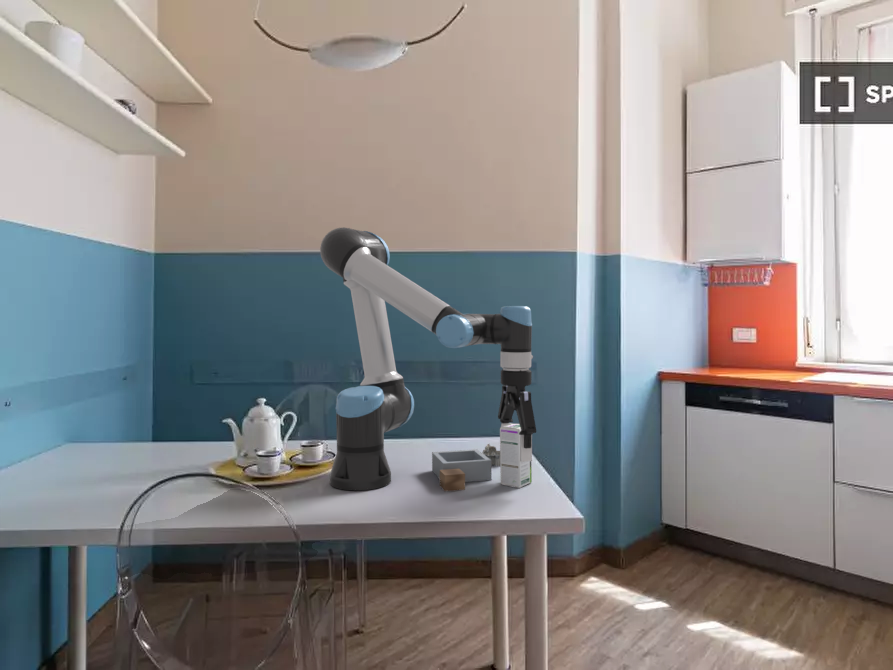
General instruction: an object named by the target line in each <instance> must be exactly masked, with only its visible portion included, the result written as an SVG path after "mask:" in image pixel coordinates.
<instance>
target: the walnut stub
mask: <svg viewBox="0 0 893 670" xmlns="http://www.w3.org/2000/svg"><path fill="white" fill-rule="evenodd" d="M439 487H441V489H442V490H443V491H444V492H452V491H462V490H463V491H465V490H466V482H465V473H464V472H463V471H461V470H460V469H445V470H440V479H439Z"/></svg>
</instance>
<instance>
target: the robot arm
mask: <svg viewBox="0 0 893 670" xmlns="http://www.w3.org/2000/svg"><path fill="white" fill-rule="evenodd" d="M319 250H320V251H319V253H320V257H321V260H322V262H323V264H324V265H325V266H326V267H327V269H329V271H332V272H333V273H334V274H336V275H337V276H340V277H341V278H342V280H343V285H344V286H345V287H347V288H348V289H349V290H350V293H351V300H352V305H353V306H352V307H353V312H354V318H355V326H356V332H357V337H358V343H359V349H360V350H359V351H360V355H361V361H362V362H361V363H362V368H363V373H364V374H363V375H364V378H363V379H362V381H361V382H360V384H359V385H358V386H355V387H354V386H352V387H348V388H345V389H343V390H341V391H340V392H339V393H338V394H337V396H336V402H335V412H336V413H335V415H336V420H335V421H336V454H335V458H334V460H333V464H332V467H331V470H330V474H329V485H330V486H332V487H333V488H335V489H339V490H344V491H369V490H374V489H380V488H383V487H386V486H389V484H391V482H392V472H391V467H390V466H389V462H388V460H387V459H388V458H387V456H386V453H385V441H384V440H385V435H384V434H385V433H387V432H390V431H392V430H397V429H398V428H401V427H402V426H403V425H405V424H406V423H407V422H408V421H409V420H410V419H411V418H412V416H413V414H414V409H415V399H414V396H413V394H412V392H411V391H410V390H409V389H408V388H407V387H406V386H405V381H404V377H403V376H402V375H401V374H400V373H398V371H397V368H396V361H395V355H394V349H393V344H392V338H391V337H392V336H391V331H390V325H389V324H390V323H389V319H388V313H387V306H386V303H387V304H389V305H390V306H392V307H394V308H395V309H396V310H398V311H399V312H401V313H402V314H404V315H405V316H407V317H409V318H410V319H412V320H413V321H415V322H416V323H417V324H419V325H421V326H422V327H424V328H426V329H427V330H428V331H429V332H431V333H432V334H434V335H436V338H437V339H438V341H439V343H440V344H441V345H442V346H444V347H446V348H450V349H451V348H452V349H459V348H464V347H468V346H474V345H475V346H476V345H500V365H499V366H500V368H502V369H501V370H500V384H501V385H502V386H501V397H500V403H499V408H498V414H497V419H498V420H499V421H500V423H501V424H500V427H504V426H507V425H511V424H513V422H514V420H513V416H514V413H515V412H516V415H517V419H518V424H520V428H521V431H520V433H519V435H520V461H521V462H527V461H531V462H532V461H533V434H535V433H537V426H536V421H535V415H534V409H533V408H534V407H533V404H532V392H531V391H526V387H527V386H530V385H532V372H533V371H531V367H532V359H533V358H534V355H532V336H533V335H532V333H533V332H532V331H533V330H532V329H533V323H532V310H531V308H530V307H529V306H527V305H525V306H524V305H511V306H510V305H507V306H506V305H505V306H502V307H500V312H499V313H495V314H494V313H492V314H491V313H462V312H460V311H459V310H457V309H456V308H454V307H452V306H451V305H450V304H448V303H447V302H445V301H443V300H441V299H440V298H439V297H437V296H435V294H433V293H431V292H430V291H428V290H426V289H425V288H423V287H421V286H420V285H419V284H417V283H416V282H414V281H413V280H411V279H409V278H408V277H406V276H405V275H403V274H401V273H400V272H398V270H395V269H394V268H392V267H391V266H389V264H390V259H391V258H390V257H391V255H390V254H391V253H390V250H389V247H388V244H387V243H386V242H385V240H384V239H383V238H382V237H380V236H379V235H377V234H376V233H373V232H371V231H366V230H359V229H353V228H350V227H336V228H334V229H332V230H330V231H329V232H328V233H326V235H325V236H324V237H323V238H322V241H321V244H320V249H319Z"/></svg>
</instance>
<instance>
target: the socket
mask: <svg viewBox="0 0 893 670" xmlns="http://www.w3.org/2000/svg"><path fill="white" fill-rule="evenodd" d="M431 458H432V459H431V461H432V462H431V464H432V465H431V468H432V469H431V471H432V472H433V473H434V474H435V475H436V476H437V478H438V479H439V480H440V470H445V469H460V470H461V471H463V472H464V473H465V483H467V482H479V481H480V482H481V481H482V482H483V481H492V464H491V460H490V459H489V458H488V457H486V456H485V455H484V454H483V453H482V452H481V451H480V450H478V448H477V449H475V448H474V449H463V450H461V449H460V450H447V451H446V450H444V451H432V452H431Z"/></svg>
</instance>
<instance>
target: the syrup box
mask: <svg viewBox="0 0 893 670" xmlns="http://www.w3.org/2000/svg"><path fill="white" fill-rule="evenodd" d="M520 431H521V428H520V424H519V423H512V424H511V425H507V426H504V427H501V426H500V427H499V449H500V450H499V451H500V466H499V467H500V471H499V472H500V485H504V486H508V487H511V488H512V487H513V488H518V489H521V488H523V487H525V486H527V485H529V484H531V483H532V482H533V481H532V480H533V479H532V477H533V475H532V473H533V471H532V461H527V462H521V461H520V435H519V433H520Z"/></svg>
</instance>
